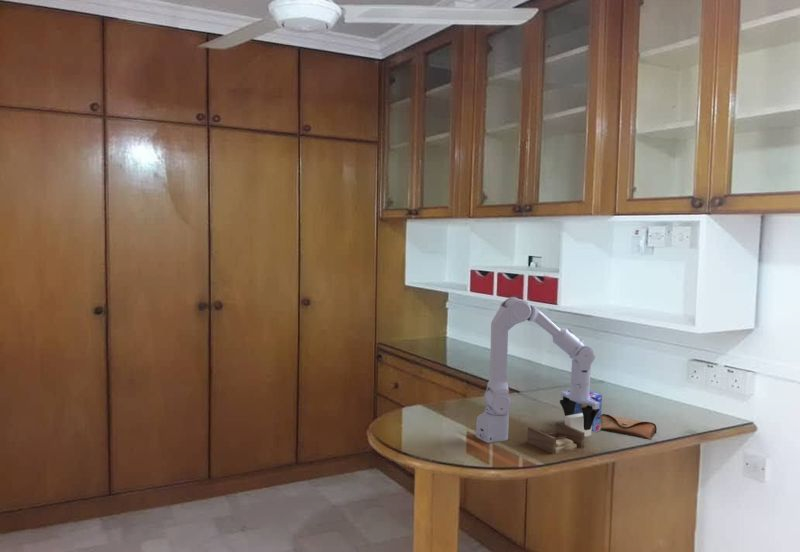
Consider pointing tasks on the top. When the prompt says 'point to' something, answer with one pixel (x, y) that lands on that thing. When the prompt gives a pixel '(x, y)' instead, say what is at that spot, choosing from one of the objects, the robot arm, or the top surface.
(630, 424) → the sunglasses case
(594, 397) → the ink cartridge box
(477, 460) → the top surface
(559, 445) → the offcut upper
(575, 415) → the board
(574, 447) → the offcut lower
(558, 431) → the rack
